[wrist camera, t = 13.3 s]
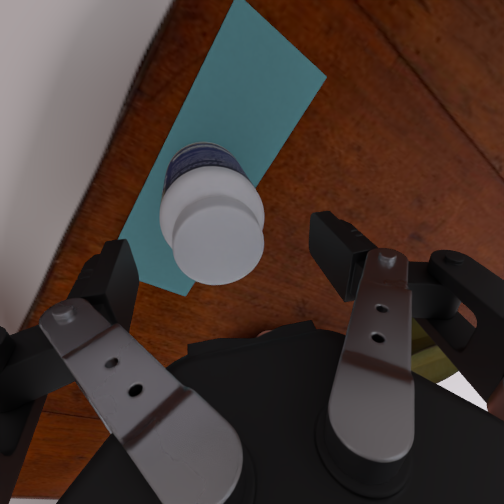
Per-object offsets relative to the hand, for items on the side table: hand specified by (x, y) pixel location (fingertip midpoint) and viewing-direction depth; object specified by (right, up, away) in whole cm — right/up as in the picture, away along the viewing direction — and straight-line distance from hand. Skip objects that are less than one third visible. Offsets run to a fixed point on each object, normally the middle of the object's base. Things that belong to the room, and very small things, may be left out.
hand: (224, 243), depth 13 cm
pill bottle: (-2, +5, +8) cm, 10 cm away
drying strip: (-2, +5, +8) cm, 10 cm away
